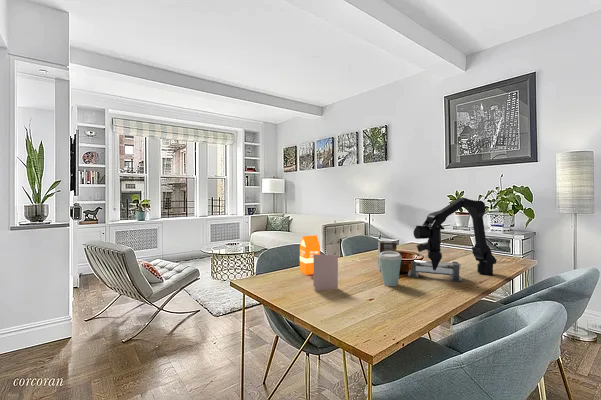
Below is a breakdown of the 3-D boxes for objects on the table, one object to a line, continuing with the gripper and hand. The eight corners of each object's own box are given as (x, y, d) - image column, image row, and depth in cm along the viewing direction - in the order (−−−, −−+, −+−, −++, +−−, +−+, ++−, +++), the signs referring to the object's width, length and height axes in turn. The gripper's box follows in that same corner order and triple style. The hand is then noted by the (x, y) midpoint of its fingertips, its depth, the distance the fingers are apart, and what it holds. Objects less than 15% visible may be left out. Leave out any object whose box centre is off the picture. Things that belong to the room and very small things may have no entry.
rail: (459, 268, 154) (459, 263, 154) (460, 270, 151) (460, 264, 151) (409, 264, 163) (409, 259, 163) (409, 265, 160) (409, 260, 160)
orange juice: (299, 271, 169) (299, 235, 169) (313, 269, 173) (313, 234, 172) (305, 274, 162) (305, 237, 162) (320, 272, 166) (320, 236, 165)
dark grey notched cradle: (460, 277, 157) (460, 261, 157) (462, 282, 149) (462, 265, 148) (408, 272, 166) (408, 257, 166) (407, 276, 158) (408, 261, 158)
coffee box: (379, 271, 168) (379, 242, 168) (377, 268, 174) (377, 240, 174) (396, 272, 167) (396, 242, 167) (394, 269, 174) (394, 241, 173)
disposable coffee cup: (403, 288, 139) (403, 255, 138) (378, 287, 141) (378, 254, 141) (400, 281, 149) (400, 251, 149) (377, 280, 152) (377, 250, 151)
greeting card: (338, 287, 141) (338, 255, 140) (335, 292, 133) (335, 258, 133) (313, 285, 144) (313, 253, 143) (310, 290, 136) (310, 257, 136)
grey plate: (456, 270, 170) (456, 269, 170) (458, 275, 160) (458, 274, 160) (410, 266, 179) (410, 265, 179) (409, 271, 169) (409, 270, 169)
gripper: (417, 234, 168) (417, 263, 169) (417, 240, 151) (417, 271, 152) (439, 236, 164) (439, 264, 165) (442, 241, 147) (441, 273, 147)
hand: (434, 268), depth 157 cm, fingers open, 8 cm apart
